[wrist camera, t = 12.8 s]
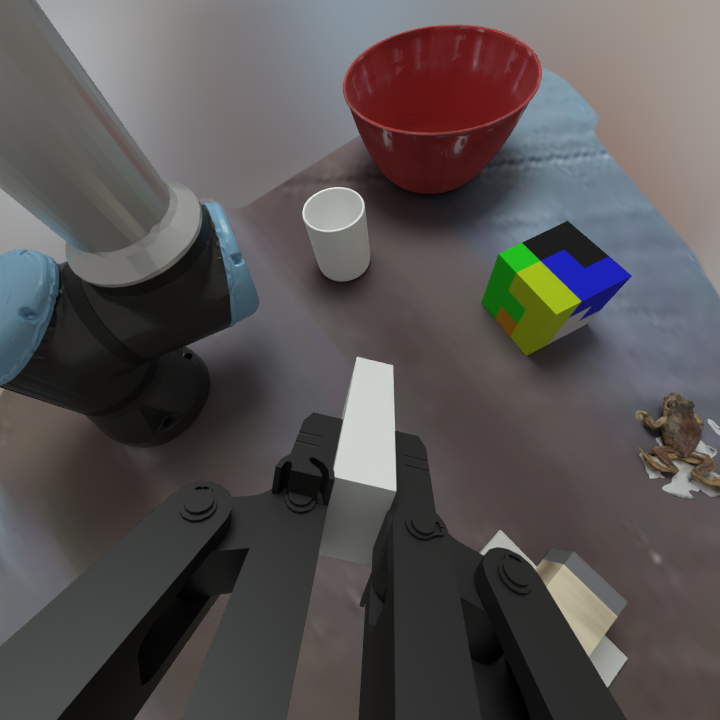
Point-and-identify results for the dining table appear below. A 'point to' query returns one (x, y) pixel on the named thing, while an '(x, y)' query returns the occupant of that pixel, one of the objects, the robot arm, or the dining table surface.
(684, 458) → the frog figurine
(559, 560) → the birch block
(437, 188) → the mixing bowl
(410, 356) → the dining table surface
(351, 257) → the mug
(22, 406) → the dining table surface
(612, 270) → the puzzle toy
